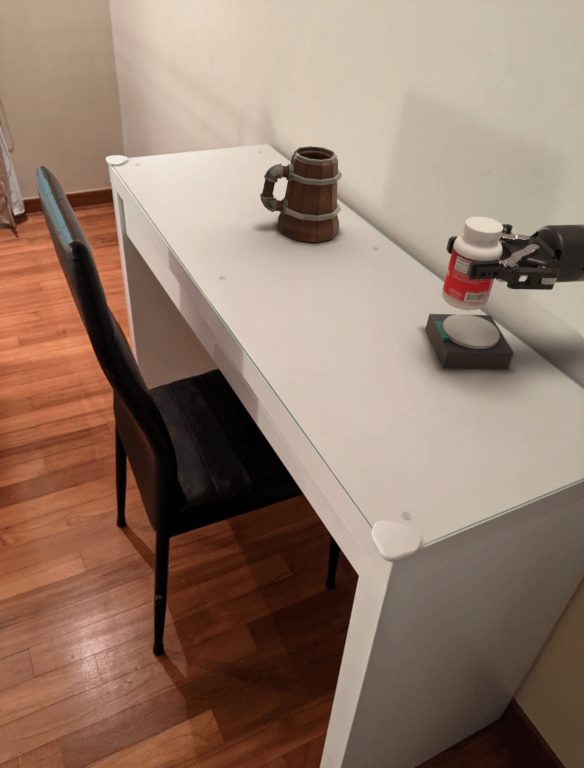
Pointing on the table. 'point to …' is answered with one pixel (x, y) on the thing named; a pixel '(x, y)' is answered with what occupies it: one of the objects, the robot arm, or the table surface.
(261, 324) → the table surface
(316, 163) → the mug
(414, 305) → the table surface
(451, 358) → the scale
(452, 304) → the pill bottle
